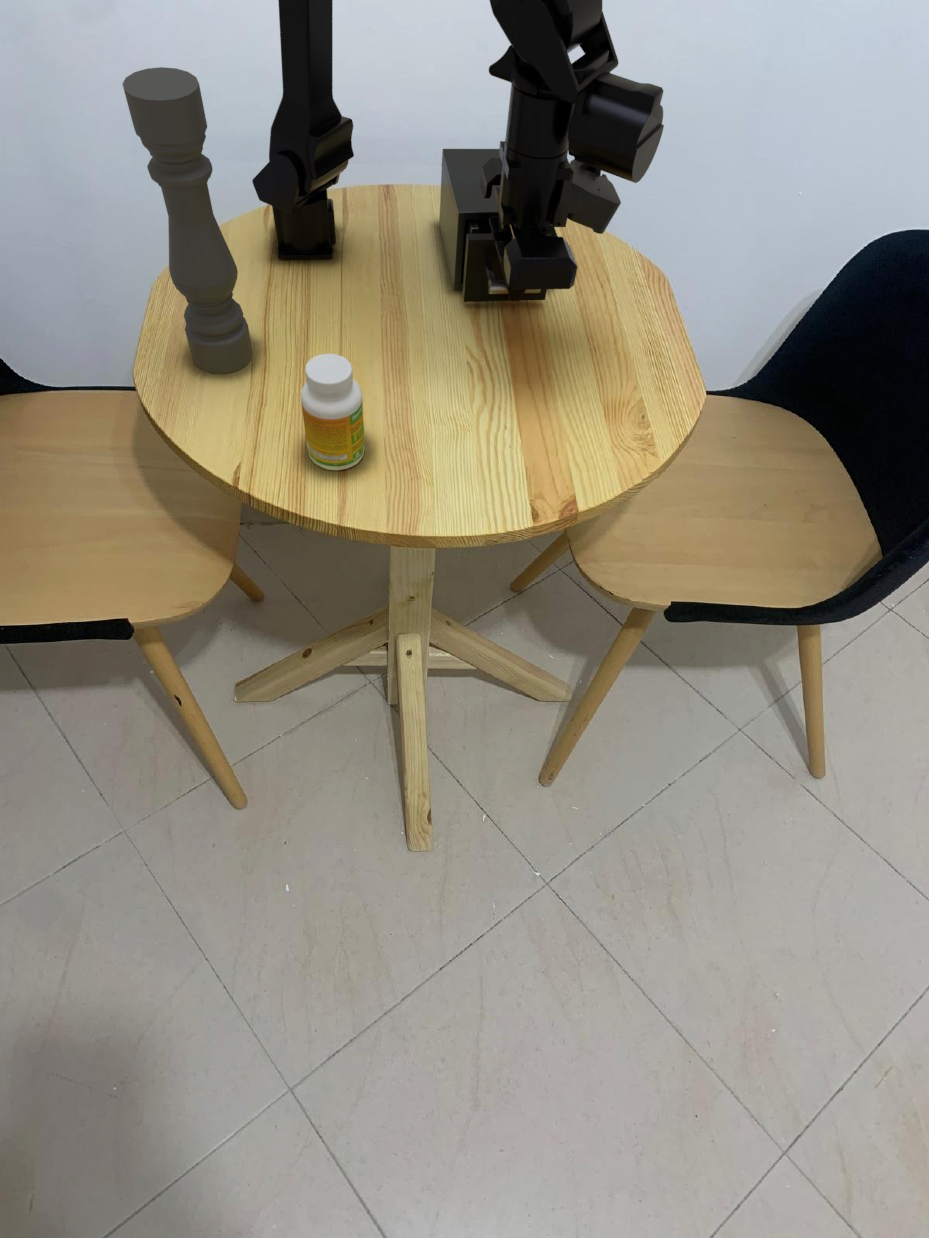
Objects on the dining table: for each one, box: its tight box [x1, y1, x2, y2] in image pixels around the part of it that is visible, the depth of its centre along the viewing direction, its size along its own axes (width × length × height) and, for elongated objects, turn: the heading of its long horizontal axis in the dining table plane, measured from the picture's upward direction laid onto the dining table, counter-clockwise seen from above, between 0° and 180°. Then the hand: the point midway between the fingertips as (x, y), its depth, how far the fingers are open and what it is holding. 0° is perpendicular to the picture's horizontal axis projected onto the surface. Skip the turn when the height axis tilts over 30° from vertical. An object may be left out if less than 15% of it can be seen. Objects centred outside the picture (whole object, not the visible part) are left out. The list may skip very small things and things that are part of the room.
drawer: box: [461, 219, 548, 303], centre depth 87 cm, size 17×9×7 cm, turn 8°
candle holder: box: [122, 66, 254, 375], centre depth 70 cm, size 6×6×25 cm
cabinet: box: [438, 148, 552, 291], centre depth 90 cm, size 14×11×9 cm
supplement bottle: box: [300, 353, 366, 471], centre depth 70 cm, size 5×5×10 cm
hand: (514, 299), depth 82 cm, fingers closed
